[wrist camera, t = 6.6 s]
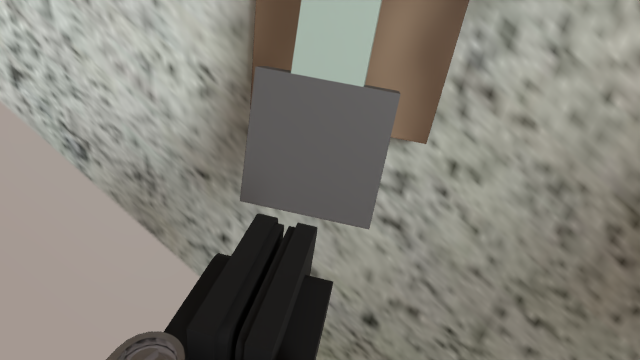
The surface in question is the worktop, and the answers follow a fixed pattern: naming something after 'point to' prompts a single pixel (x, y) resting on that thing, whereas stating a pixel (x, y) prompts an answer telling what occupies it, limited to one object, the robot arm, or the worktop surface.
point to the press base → (381, 52)
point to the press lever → (321, 119)
